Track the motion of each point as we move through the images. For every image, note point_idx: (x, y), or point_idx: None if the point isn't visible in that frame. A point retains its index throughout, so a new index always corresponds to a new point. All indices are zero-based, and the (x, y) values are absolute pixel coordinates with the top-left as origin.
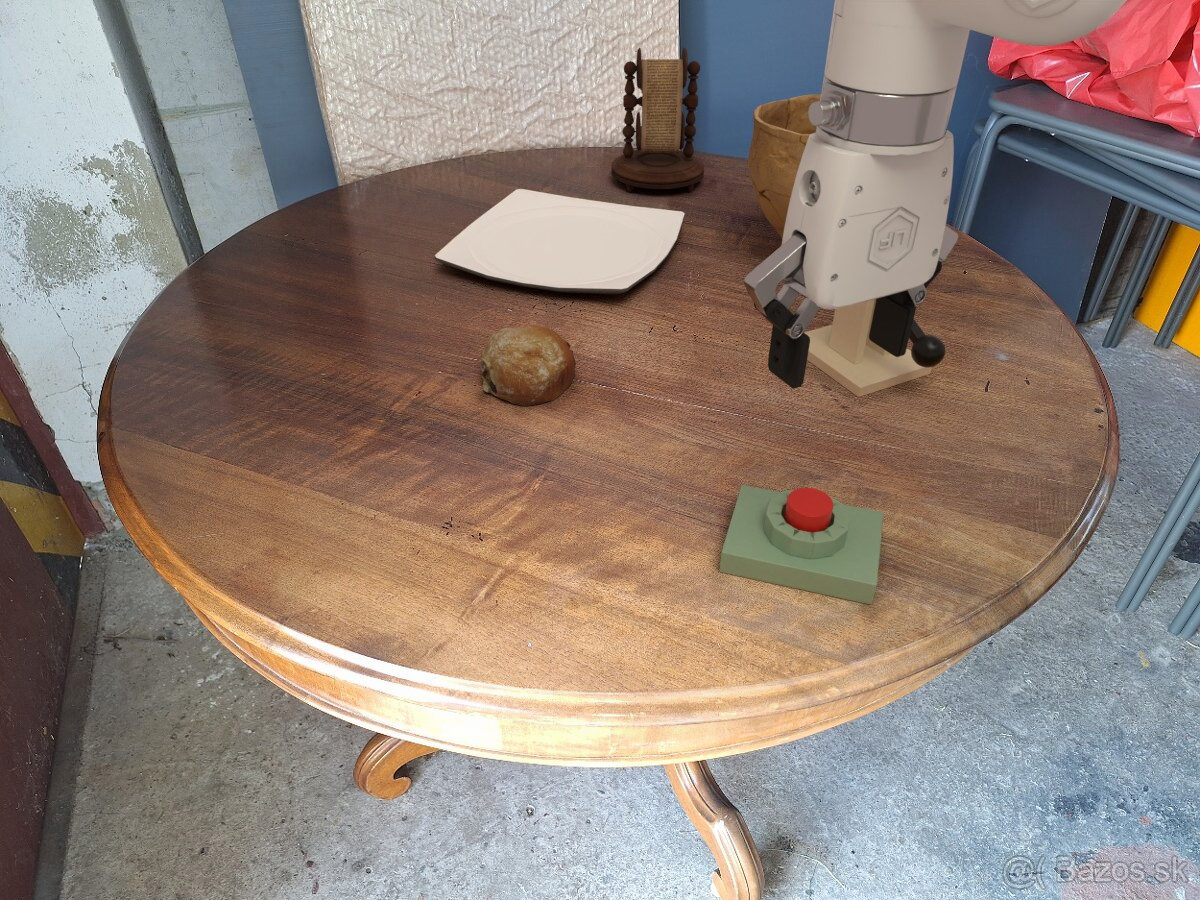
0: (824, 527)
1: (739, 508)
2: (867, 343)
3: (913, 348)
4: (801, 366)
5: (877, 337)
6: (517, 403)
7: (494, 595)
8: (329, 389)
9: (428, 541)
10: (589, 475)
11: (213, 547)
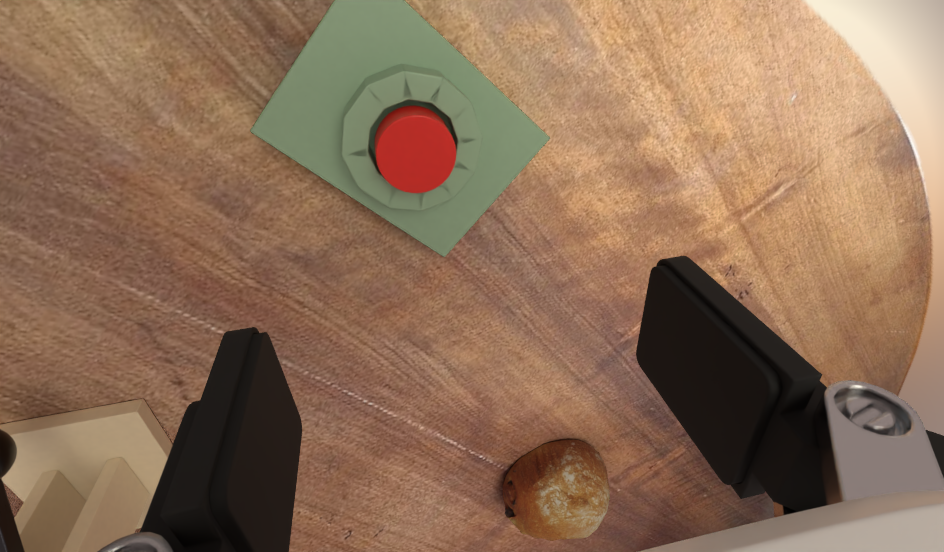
0: (403, 107)
1: (475, 213)
2: (77, 494)
3: (7, 466)
4: (726, 297)
5: (290, 418)
6: (584, 442)
7: (772, 184)
8: (712, 478)
9: (770, 278)
10: (577, 330)
11: (902, 317)
